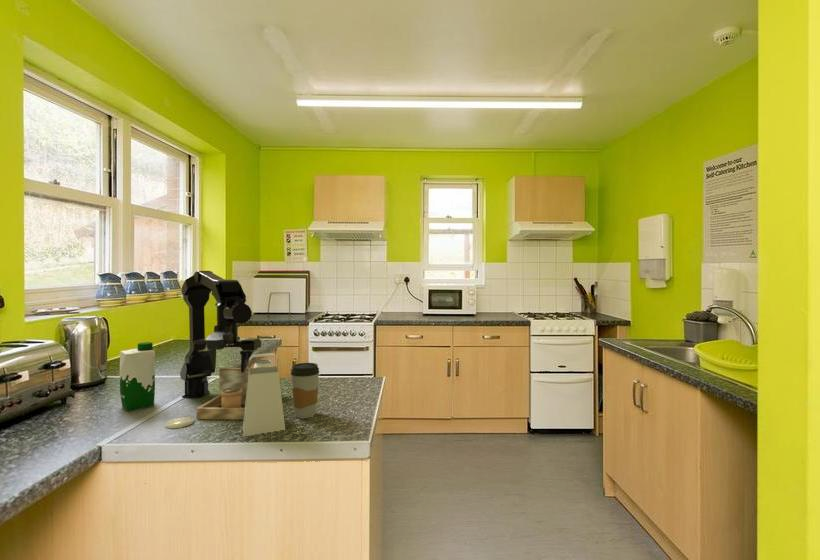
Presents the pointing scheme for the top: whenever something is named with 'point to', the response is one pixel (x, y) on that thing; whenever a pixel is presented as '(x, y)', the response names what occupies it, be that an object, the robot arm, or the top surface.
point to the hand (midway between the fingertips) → (228, 372)
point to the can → (263, 363)
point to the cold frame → (209, 409)
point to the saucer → (179, 422)
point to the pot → (231, 397)
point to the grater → (263, 400)
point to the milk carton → (137, 377)
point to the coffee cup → (305, 389)
